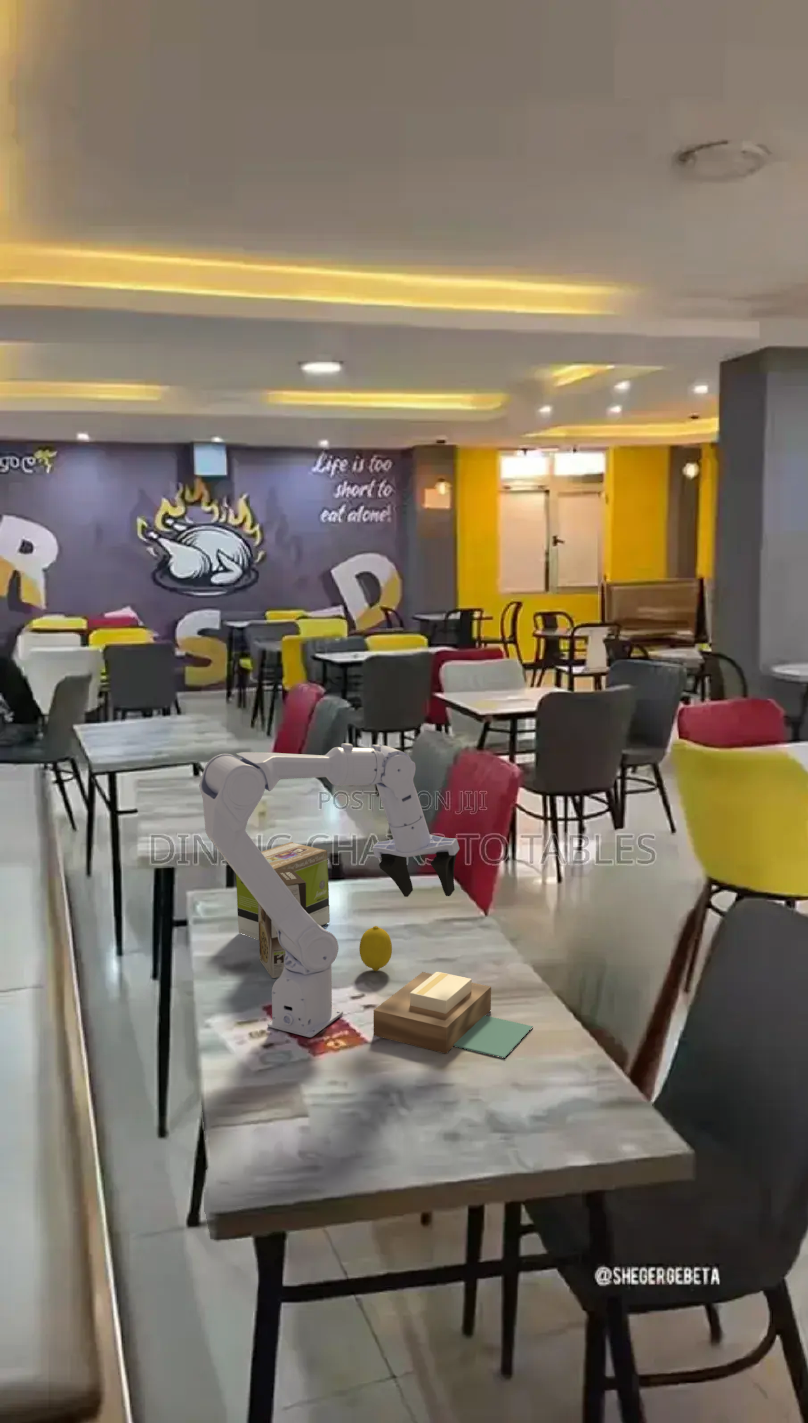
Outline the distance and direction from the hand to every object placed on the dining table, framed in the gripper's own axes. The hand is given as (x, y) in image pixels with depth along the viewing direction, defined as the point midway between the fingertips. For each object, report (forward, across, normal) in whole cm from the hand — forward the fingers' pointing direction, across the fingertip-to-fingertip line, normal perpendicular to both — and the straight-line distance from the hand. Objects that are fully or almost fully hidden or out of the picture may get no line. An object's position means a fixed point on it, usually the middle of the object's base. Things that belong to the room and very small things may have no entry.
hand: (429, 893), depth 173 cm
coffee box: (+11, +29, +6) cm, 32 cm away
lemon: (+15, +15, +1) cm, 21 cm away
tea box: (+13, +39, -9) cm, 42 cm away
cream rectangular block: (+11, -4, +12) cm, 17 cm away
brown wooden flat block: (+14, -3, +14) cm, 20 cm away
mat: (+16, -13, +14) cm, 25 cm away
